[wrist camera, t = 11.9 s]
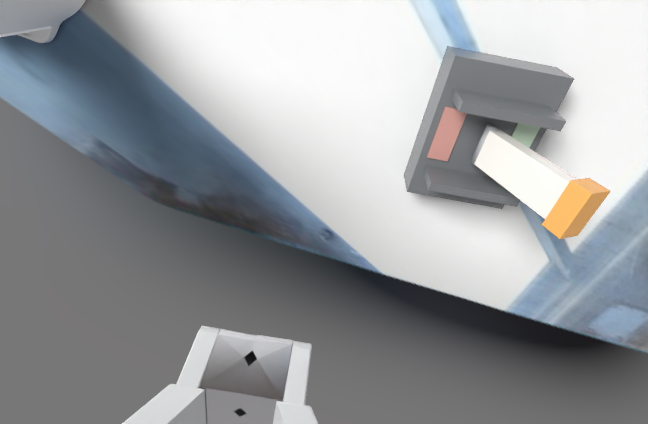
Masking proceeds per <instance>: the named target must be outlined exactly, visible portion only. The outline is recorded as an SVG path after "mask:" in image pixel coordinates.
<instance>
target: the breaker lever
mask: <svg viewBox="0 0 648 424" xmlns="http://www.w3.org/2000/svg"><path fill="white" fill-rule="evenodd" d="M470 162H471V163H472V164H474V165H476V166H477V167H478V168H480V169H481V170H482V171H484V172H485V173H486V174H487V175H489V176H490V177H491V178H493V179H494V180H495V181H496V182H498V183H499V184H500V185H502V186H503V187H504V188H505V189H507V190H508V191H509V192H511V193H512V194H513V195H514V196H516V197H517V198H518V199H520V200H521V201H522V202H523V203H525V204H526V205H527V206H529V207H530V208H531V209H532V210H534V211H535V212H536V213H538V214H539V215H540V216H541V217H543V218H544V219H545V220H544V222H543V223H542V225H543V226H544V227H545V228H547V229H548V230H549V231H550V232H552V233H553V234H554V235H555V236H557V237H558V238H559V239H563V238H567V237H572V236H577V235H578V234H579V233H580V232H581V230H582V229H583V227H584V226H585V225H586V223H587V222H588V221H589V219H590V218H591V217H592V215H593V214H594V213H595V211H596V210H597V209H598V207H599V206H600V205H601V203H602V202H603V201H604V199H605V198H606V197H607V195H608V194H609V193H610V191H609V190H608V189H606V188H605V187H603V186H601V185H600V184H598V183H596V182H595V181H593V180H592V179H590V178H585V179H577V178H576V177H574V176H573V175H571V174H570V173H568V172H566V171H565V170H563V169H562V168H560V167H558V166H557V165H555V164H554V163H552V162H550V161H549V160H547V159H546V158H544V157H543V156H541V155H539V154H538V153H536V152H535V151H533V150H531V149H530V148H528V147H527V146H525V145H524V144H522V143H520V142H519V141H517V140H516V139H514V138H512V137H511V136H509V135H508V134H506V133H505V132H503V131H501V130H498V127H497V126H495V125H493V124H487V126H486V128H485V130H484V132H483V135H482V137H481V139H480V141H479V143H478V146H477V148H476V150H475V152H474V155H473V157H472V159H471V161H470Z"/></svg>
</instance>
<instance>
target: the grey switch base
mask: <svg viewBox="0 0 648 424" xmlns="http://www.w3.org/2000/svg"><path fill="white" fill-rule="evenodd" d="M573 80H574V78H572V77H571V76H569V75H568V74H566V73H565V72H563V71H562V70H560V69H558V68H557V67H552V66H546V65H541V64H536V63H531V62H526V61H521V60H516V59H511V58H506V57H500V56H495V55H490V54H485V53H480V52H475V51H470V50H465V49H459V48H454V47H449V46H447V49H446V52H445V55H444V58H443V61H442V64H441V67H440V70H439V73H438V76H437V79H436V82H435V85H434V88H433V91H432V93H431V96H430V99H429V102H428V105H427V108H426V111H425V114H424V117H423V120H422V123H421V126H420V129H419V132H418V135H417V138H416V141H415V144H414V147H413V150H412V153H411V156H410V159H409V161H408V164H407V167H406V170H405V173H404V178H405V183H406V188H407V192H412V193H418V194H424V195H429V196H435V197H440V198H446V199H451V200H457V201H462V202H468V203H473V204H479V205H484V206H490V207H495V208H501V209H502V208H503V206H504V204H506V205H512V206H517V205H518V203H519V202H520V199H518V198H517V197H516V196H514V195H513V194H512V193H511V192H509V191H508V190H507V189H505V188H504V187H503V186H502V185H500V184H499V183H498V182H496V181H495V180H494V179H493V178H491V177H490V176H489V175H487V174H486V173H485V172H484V171H482V170H481V169H480V168H478V167H477V166H476V165H474V164H472V163H471V162H470V161H471V159H472V157H473V155H474V152H475V150H476V148H477V146H478V143H479V141H480V139H481V137H482V135H483V132H484V130H485V128H486V126H487V124H493V125H495V126H497V127H498V130H501V131H503V132H505V133H506V134H508V135H509V136H511V137H512V138H514V139H516V140H517V141H519V142H520V143H522V144H524V145H525V146H527V147H528V148H530V149H531V150H533V151H534V150H535V149H536V147H537V145H538V143H539V141H540V140H541V138H542V136H543V134H544V132H545V131H546V129H552V130H557V131H561V129H562V128H563V126H564V124H565V122H566V121H565V120H564V119H563V118H562V117H561V116H559V115H558V114H557V113H556V111H557V109H558V107H559V105H560V104H561V102H562V100H563V98H564V96H565V95H566V93H567V91H568V89H569V87H570V86H571V84H572V82H573Z"/></svg>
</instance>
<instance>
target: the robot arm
mask: <svg viewBox="0 0 648 424" xmlns="http://www.w3.org/2000/svg"><path fill="white" fill-rule="evenodd" d="M85 1H86V0H0V37H5V36H10V35H19V36H22V37H24V38H27V39H30V40H32V41H35V42H38V43H46V42H51V41H52V40H53V39H54V37H55V36H56V34H57V31H58V29H59V26H60V24H61V23H62V22H63V21H64V20H66V19H67V18H69V17H70V16H72V15H74V14H75V13H76V12H77V11H78V10H79V9H80V8H81V7H82V6H83V4H84V3H85ZM292 342H293V343H292ZM311 350H312V347H311V343H303V342H297V341H292V340H288V339H281V338H274V337H267V336H261V335H252V334H247V333H241V332H235V331H229V330H223V329H219V328H213V327H206V326H202V327H201V328H200V330H199V331H198V334H197V336H196V338H195V341H194V343H193V345H192V348H191V350H190V353H189V355H188V357H187V360H186V363H185V365H184V367H183V370H182V372H181V375H180V377H179V379H178V382H177V384H170V385H168V386H167V387H166V388H165V389H164V390H162V391H161V392H160V393H159V394H158V395H156V396H155V397H154V398H153V399H151V400H150V401H149V402H148V403H147V404H145V405H144V406H143V407H142V408H141V409H139V410H138V411H137V412H136V413H135V414H133V415H132V416H131V417H130V418H128V419H127V420H126V421H125V422H124V423H122V424H318V422H317V420H316V417H315V415H314V413H313V411H312V408H311V407H310V406H306V405H305V401H306V393H307V384H308V375H309V367H310V357H311Z"/></svg>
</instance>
